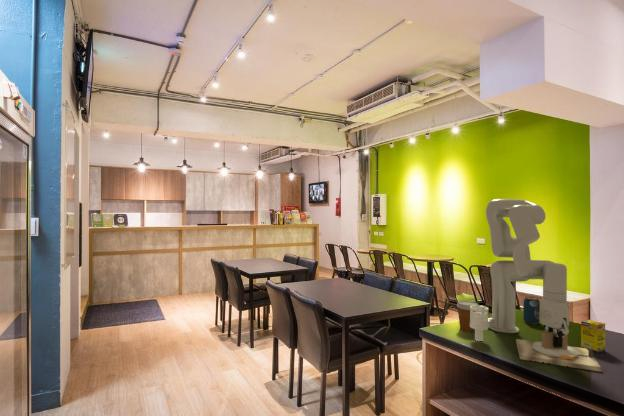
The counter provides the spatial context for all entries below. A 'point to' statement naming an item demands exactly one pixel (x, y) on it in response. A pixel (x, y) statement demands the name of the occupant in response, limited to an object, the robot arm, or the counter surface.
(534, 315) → the soda can
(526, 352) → the level stand
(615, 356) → the counter surface
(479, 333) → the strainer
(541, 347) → the dial
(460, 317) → the disposable coffee cup
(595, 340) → the supplement box
